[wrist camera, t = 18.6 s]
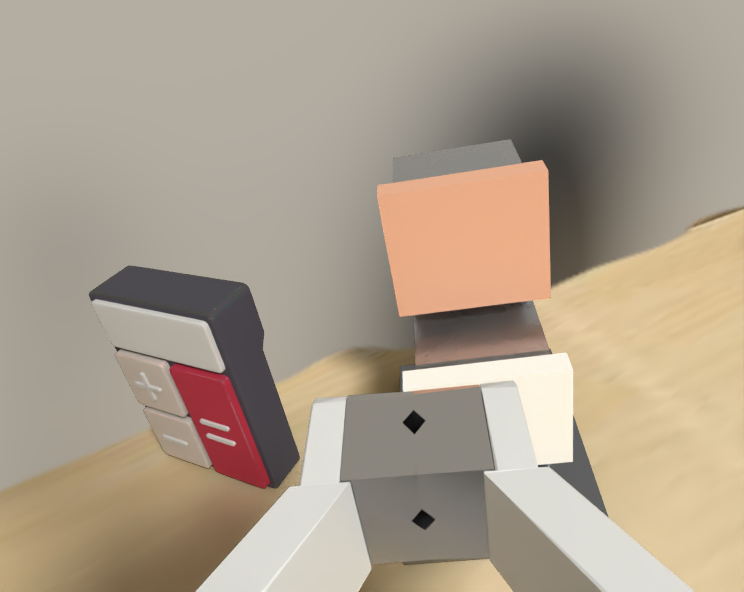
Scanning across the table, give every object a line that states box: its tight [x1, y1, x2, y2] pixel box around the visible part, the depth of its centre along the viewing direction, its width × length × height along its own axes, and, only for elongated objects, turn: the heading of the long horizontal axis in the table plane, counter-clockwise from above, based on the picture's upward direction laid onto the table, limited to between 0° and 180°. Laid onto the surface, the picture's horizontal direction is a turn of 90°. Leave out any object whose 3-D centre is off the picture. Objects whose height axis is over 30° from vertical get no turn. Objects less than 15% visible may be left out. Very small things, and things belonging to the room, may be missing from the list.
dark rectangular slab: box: [89, 266, 300, 489], centre depth 42 cm, size 11×4×15 cm, turn 62°
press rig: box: [393, 140, 609, 565], centre depth 37 cm, size 12×17×18 cm
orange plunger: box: [377, 160, 551, 317], centre depth 37 cm, size 9×8×8 cm
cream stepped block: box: [402, 353, 573, 465], centre depth 37 cm, size 9×8×7 cm
